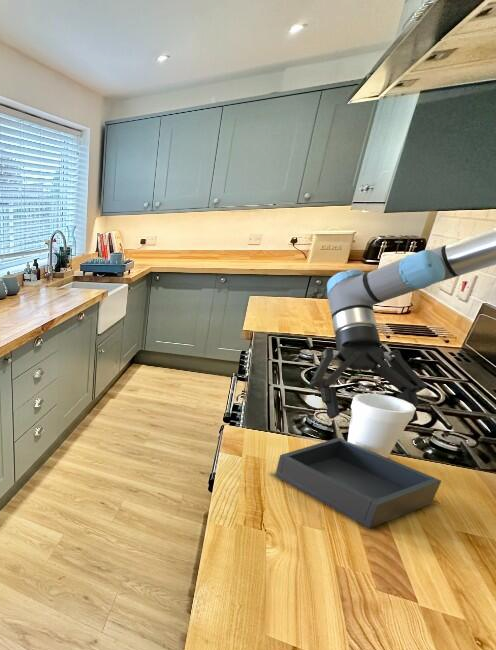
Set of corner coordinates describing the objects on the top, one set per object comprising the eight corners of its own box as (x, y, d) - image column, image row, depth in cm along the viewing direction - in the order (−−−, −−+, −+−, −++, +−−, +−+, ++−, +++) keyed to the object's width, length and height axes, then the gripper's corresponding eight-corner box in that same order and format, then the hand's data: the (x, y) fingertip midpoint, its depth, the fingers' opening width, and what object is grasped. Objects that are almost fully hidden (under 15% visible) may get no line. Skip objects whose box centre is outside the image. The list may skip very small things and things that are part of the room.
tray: (431, 503, 76) (441, 480, 74) (369, 528, 71) (378, 504, 69) (332, 457, 91) (338, 437, 89) (274, 475, 86) (280, 454, 84)
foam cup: (367, 471, 86) (387, 414, 81) (326, 448, 94) (342, 396, 89) (407, 465, 87) (429, 409, 82) (363, 443, 95) (380, 391, 90)
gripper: (410, 341, 96) (432, 429, 89) (286, 338, 103) (296, 419, 95) (434, 325, 90) (460, 418, 82) (300, 322, 96) (312, 408, 89)
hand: (372, 419), depth 89 cm, fingers open, 13 cm apart
